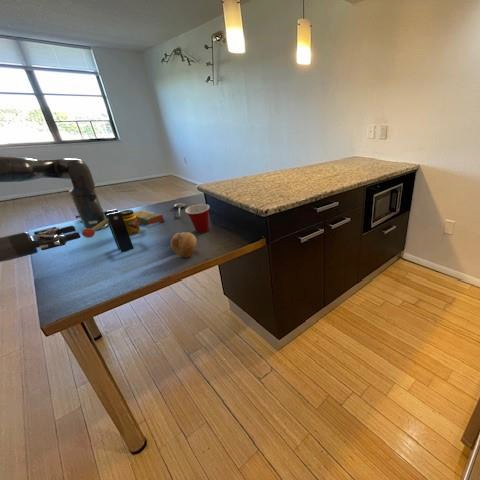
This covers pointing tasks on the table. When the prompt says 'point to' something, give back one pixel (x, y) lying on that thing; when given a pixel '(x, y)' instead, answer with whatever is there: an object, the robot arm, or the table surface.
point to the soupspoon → (179, 208)
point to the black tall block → (119, 230)
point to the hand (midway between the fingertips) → (77, 231)
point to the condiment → (130, 222)
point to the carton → (148, 217)
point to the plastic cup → (199, 217)
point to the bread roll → (183, 244)
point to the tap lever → (93, 229)
